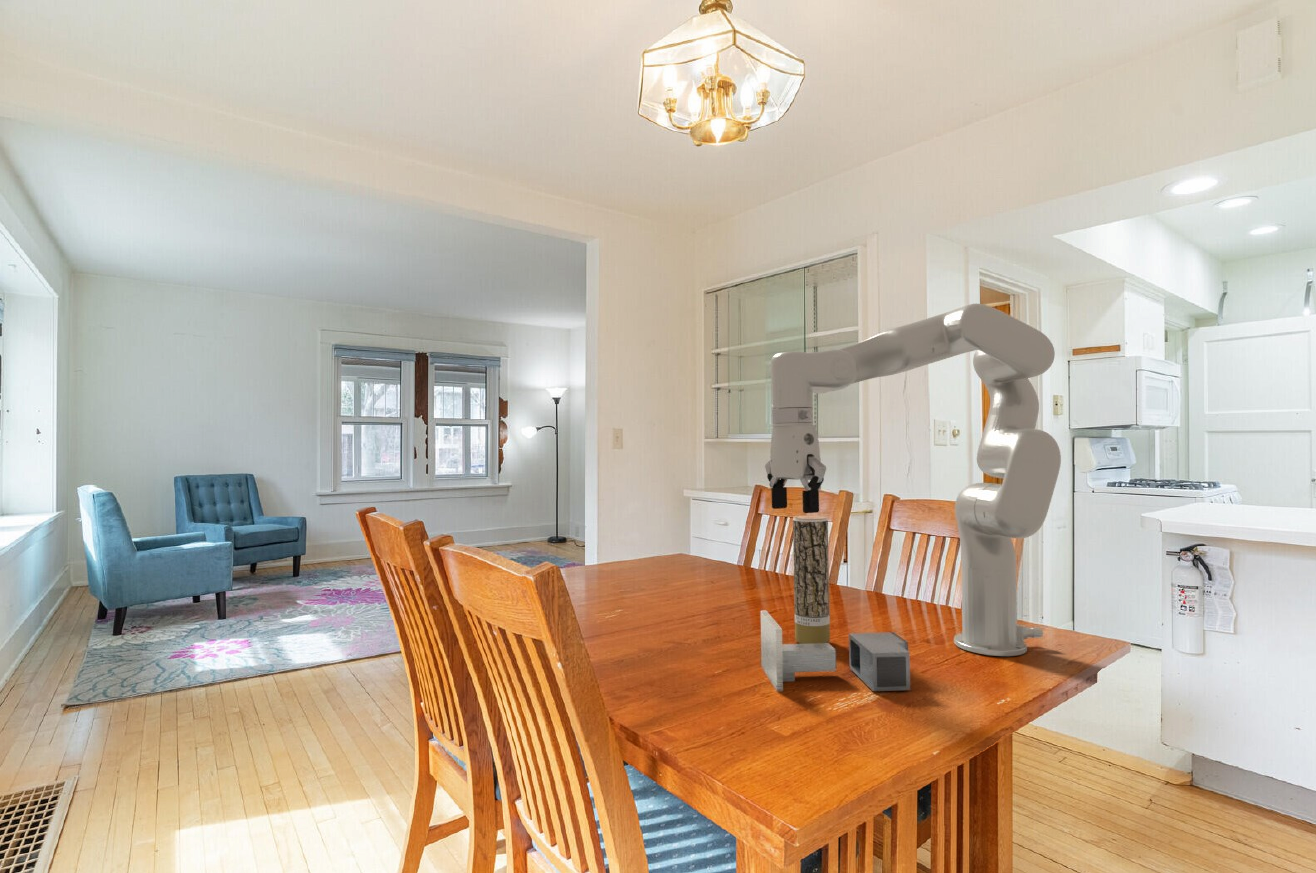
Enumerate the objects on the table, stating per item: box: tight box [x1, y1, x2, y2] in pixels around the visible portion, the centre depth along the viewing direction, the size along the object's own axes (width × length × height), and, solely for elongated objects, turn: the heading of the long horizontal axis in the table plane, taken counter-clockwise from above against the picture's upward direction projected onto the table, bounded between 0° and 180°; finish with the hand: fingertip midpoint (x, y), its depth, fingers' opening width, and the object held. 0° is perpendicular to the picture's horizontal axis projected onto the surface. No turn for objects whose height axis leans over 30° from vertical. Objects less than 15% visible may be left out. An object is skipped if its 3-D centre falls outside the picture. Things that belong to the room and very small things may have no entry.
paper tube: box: [792, 515, 831, 644], centre depth 131 cm, size 7×7×25 cm
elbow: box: [848, 631, 911, 692], centre depth 110 cm, size 8×11×6 cm
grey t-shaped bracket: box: [760, 609, 838, 692], centre depth 112 cm, size 11×12×10 cm
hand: (794, 510), depth 122 cm, fingers open, 9 cm apart
